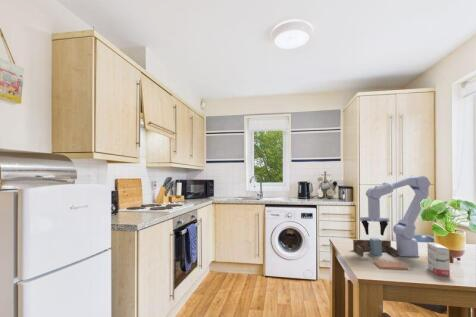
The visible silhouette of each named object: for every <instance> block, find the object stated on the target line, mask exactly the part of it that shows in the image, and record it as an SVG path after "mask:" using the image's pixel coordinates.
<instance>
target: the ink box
mask: <svg viewBox="0 0 476 317" xmlns="http://www.w3.org/2000/svg"><path fill="white" fill-rule="evenodd" d="M426 247H427V269H428V270H429V271H431V272H432V273H434V274H435V275H437V276H444V277H445V276H446V277H450V274H451V272H450V248H448V247H446V246H444V245H442V244H440V243H436V242H428V243H427V246H426Z"/></svg>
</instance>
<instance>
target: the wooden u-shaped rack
mask: <svg viewBox="0 0 476 317" xmlns="http://www.w3.org/2000/svg"><path fill="white" fill-rule="evenodd" d="M380 240H381V239H380ZM381 241H382V253H383V252H385V253H386V252H387V253H389V254H390V255H392V256H393V257H394V258H398V254H397V248H394V247H393V246H392V242H391V240H387V239H385V240H383V239H382V240H381ZM352 244H353V246H352V247H353V248H352V250H353V251H356V253H358V254H359V255H360V256H362V257H363V256H364V252H371V251H370V239H352Z"/></svg>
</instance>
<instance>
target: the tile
mask: <svg viewBox="0 0 476 317" xmlns="http://www.w3.org/2000/svg"><path fill="white" fill-rule="evenodd" d="M372 263H373V264H374V265H375V266H376V267H378V268H379V269H381V270H402V271H403V270H406V271H408V270H409V267H407V266H406V265H405V264H403V263H402V262H401V261H396V260H395V261H393V260H373V262H372Z"/></svg>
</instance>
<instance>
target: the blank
mask: <svg viewBox="0 0 476 317" xmlns="http://www.w3.org/2000/svg"><path fill="white" fill-rule="evenodd" d="M369 240H370V251H369V252H370V253H371V254H372V255H373V256H375V255H381V257H382V256H383V251H382V241H381V239H380V238H378V237H377V238H375V237H370V238H369Z"/></svg>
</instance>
